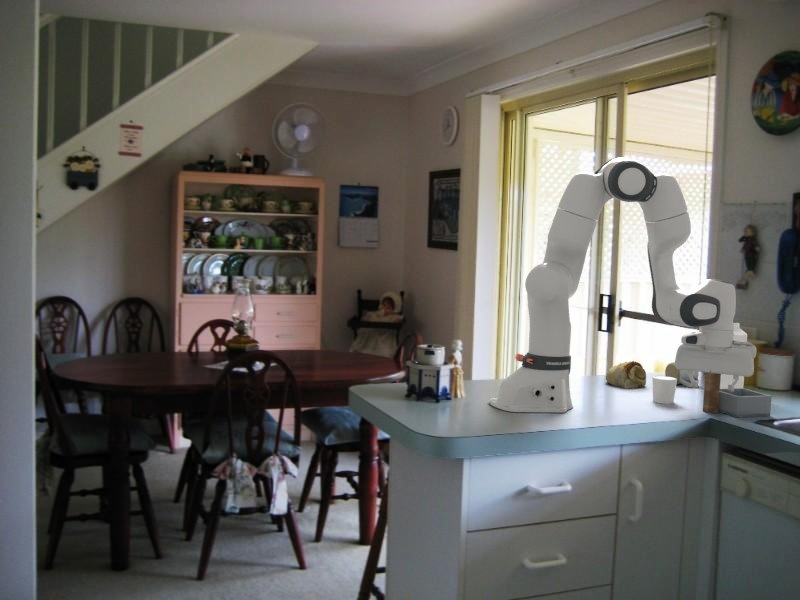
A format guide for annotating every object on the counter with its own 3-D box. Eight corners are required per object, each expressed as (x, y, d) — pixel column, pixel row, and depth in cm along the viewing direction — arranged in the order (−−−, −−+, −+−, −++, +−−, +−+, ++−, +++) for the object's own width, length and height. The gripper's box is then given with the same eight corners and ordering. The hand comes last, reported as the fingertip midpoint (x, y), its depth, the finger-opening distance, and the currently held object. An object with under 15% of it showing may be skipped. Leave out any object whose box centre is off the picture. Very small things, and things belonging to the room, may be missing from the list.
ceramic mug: (662, 382, 277) (664, 358, 277) (682, 381, 280) (684, 358, 280) (684, 388, 268) (686, 364, 267) (705, 387, 271) (707, 364, 270)
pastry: (642, 390, 261) (644, 365, 260) (601, 386, 266) (603, 360, 265) (649, 383, 274) (651, 359, 273) (610, 379, 279) (611, 355, 278)
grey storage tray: (737, 417, 227) (738, 397, 226) (709, 408, 237) (710, 389, 236) (770, 415, 230) (771, 395, 230) (741, 407, 241) (742, 388, 240)
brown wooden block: (707, 412, 231) (710, 369, 230) (702, 411, 233) (705, 367, 232) (718, 412, 232) (721, 368, 231) (713, 410, 234) (716, 367, 233)
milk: (713, 394, 260) (718, 322, 258) (725, 392, 263) (730, 321, 262) (731, 397, 255) (736, 324, 253) (743, 395, 258) (748, 323, 257)
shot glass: (677, 404, 240) (678, 380, 240) (651, 403, 242) (653, 378, 241) (674, 400, 247) (676, 376, 246) (649, 398, 248) (651, 374, 248)
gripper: (757, 341, 229) (753, 392, 231) (678, 334, 238) (675, 383, 239) (756, 343, 224) (752, 395, 225) (675, 336, 232) (672, 386, 234)
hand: (712, 389), depth 232 cm, fingers open, 8 cm apart
